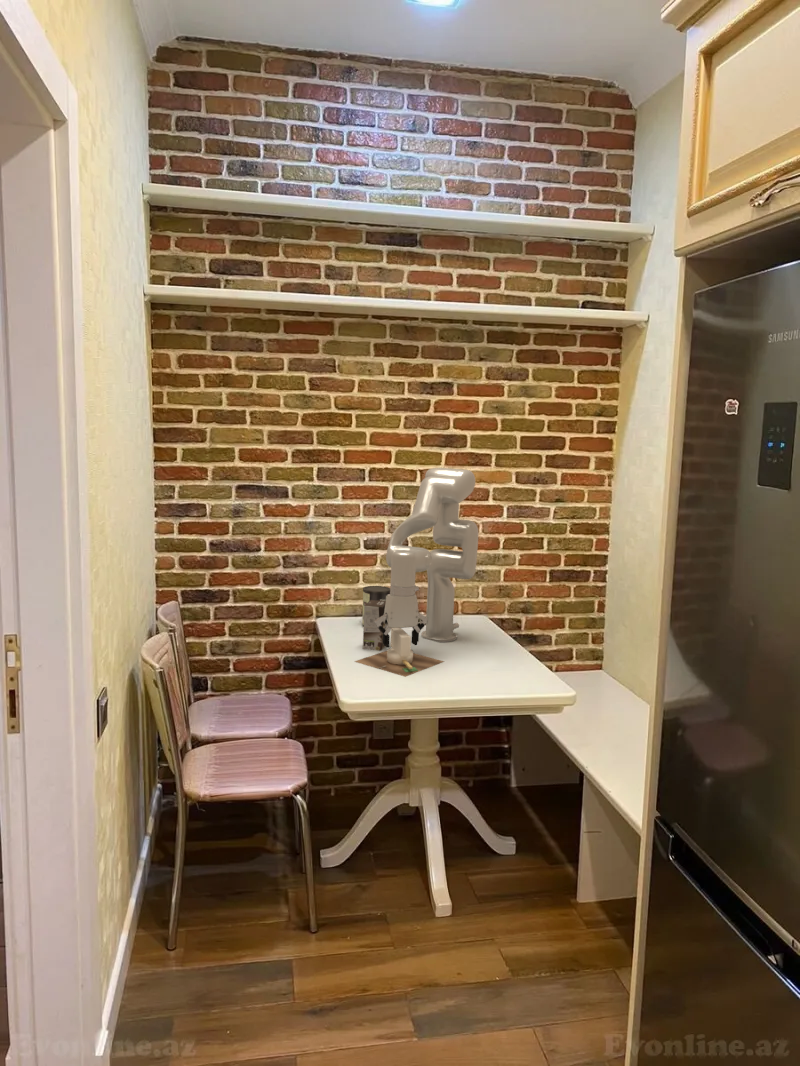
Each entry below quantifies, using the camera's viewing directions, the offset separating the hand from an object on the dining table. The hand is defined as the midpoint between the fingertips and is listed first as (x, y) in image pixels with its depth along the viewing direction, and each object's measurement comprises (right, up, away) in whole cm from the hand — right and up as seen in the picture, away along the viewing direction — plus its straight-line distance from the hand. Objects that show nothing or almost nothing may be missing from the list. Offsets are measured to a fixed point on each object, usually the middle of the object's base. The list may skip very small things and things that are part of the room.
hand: (400, 645), depth 233 cm
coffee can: (-9, 0, +47) cm, 48 cm away
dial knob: (+1, -5, -2) cm, 6 cm away
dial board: (0, -7, +1) cm, 7 cm away
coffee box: (-8, -4, +16) cm, 19 cm away
